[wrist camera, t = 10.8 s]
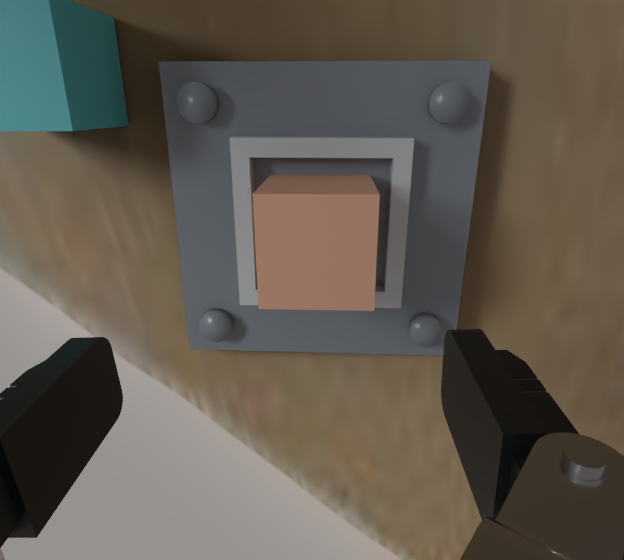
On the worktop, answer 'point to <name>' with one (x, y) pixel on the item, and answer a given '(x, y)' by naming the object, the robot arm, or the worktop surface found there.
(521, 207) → the worktop surface
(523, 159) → the worktop surface
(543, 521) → the robot arm
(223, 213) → the plate
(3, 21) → the teal block
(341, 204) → the terracotta block
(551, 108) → the worktop surface
